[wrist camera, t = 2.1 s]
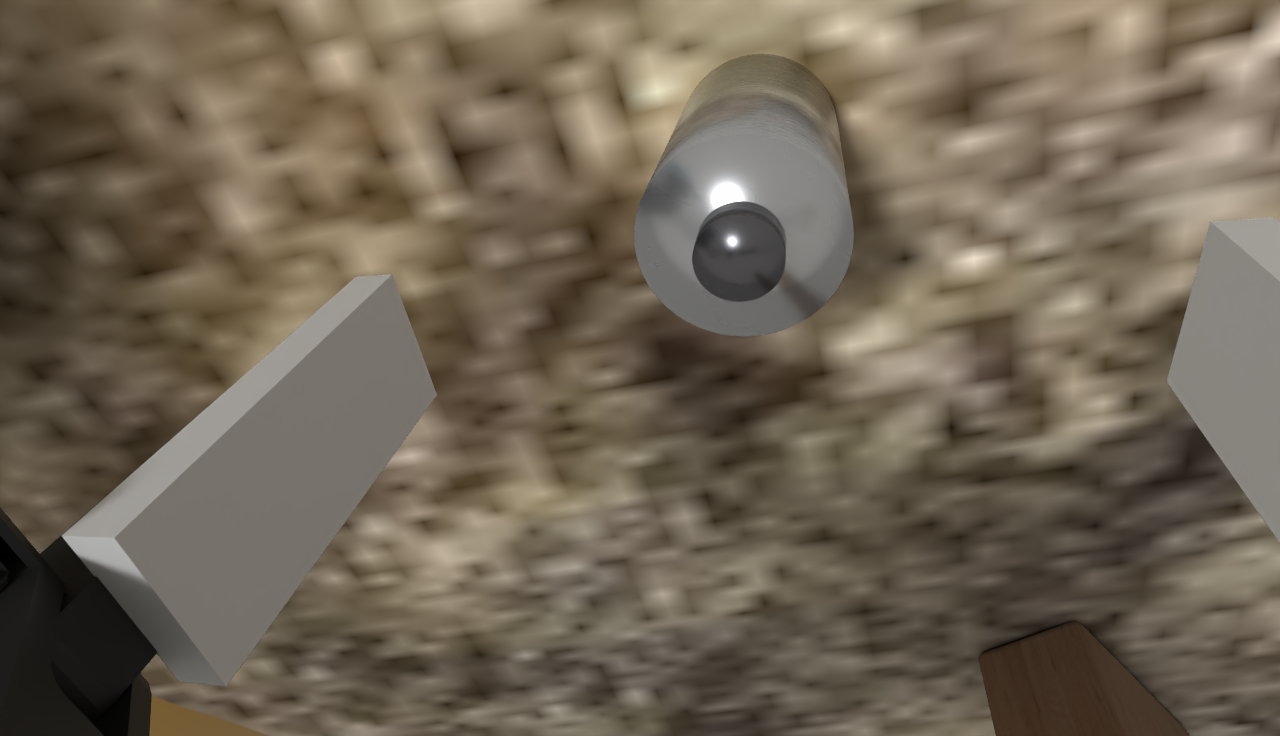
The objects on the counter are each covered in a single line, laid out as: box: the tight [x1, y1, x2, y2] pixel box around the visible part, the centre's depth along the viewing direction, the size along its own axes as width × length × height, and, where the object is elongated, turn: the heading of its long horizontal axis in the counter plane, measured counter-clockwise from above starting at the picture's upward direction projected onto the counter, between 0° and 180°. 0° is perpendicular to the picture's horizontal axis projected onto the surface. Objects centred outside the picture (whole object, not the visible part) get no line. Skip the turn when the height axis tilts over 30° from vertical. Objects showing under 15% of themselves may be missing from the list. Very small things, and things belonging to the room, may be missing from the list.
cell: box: [634, 54, 854, 336], centre depth 17 cm, size 4×4×8 cm
